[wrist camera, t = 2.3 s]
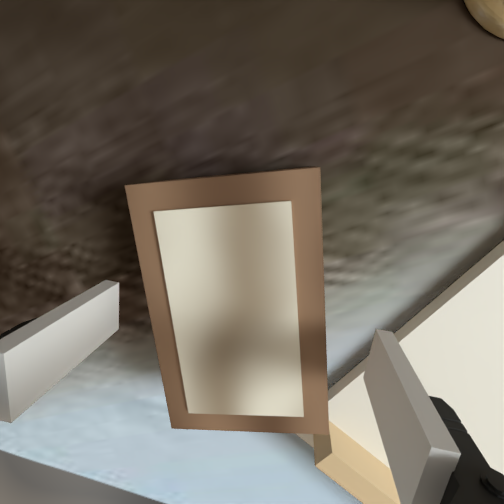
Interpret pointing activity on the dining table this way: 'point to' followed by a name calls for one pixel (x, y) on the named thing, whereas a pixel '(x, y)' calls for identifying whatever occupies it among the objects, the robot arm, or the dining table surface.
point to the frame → (237, 298)
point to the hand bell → (488, 14)
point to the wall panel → (427, 383)
